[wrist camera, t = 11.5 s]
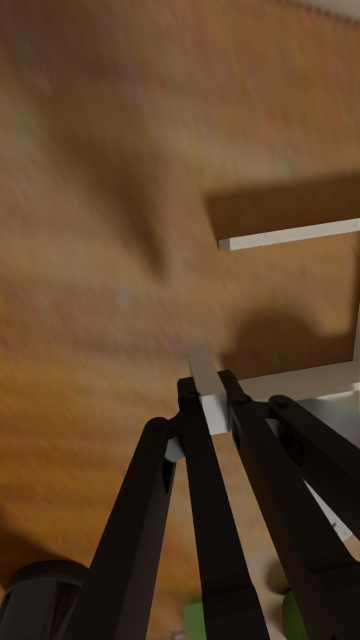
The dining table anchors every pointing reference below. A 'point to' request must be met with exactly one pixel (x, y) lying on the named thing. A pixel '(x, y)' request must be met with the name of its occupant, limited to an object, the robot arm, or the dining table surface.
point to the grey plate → (335, 417)
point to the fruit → (292, 619)
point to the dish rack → (317, 383)
